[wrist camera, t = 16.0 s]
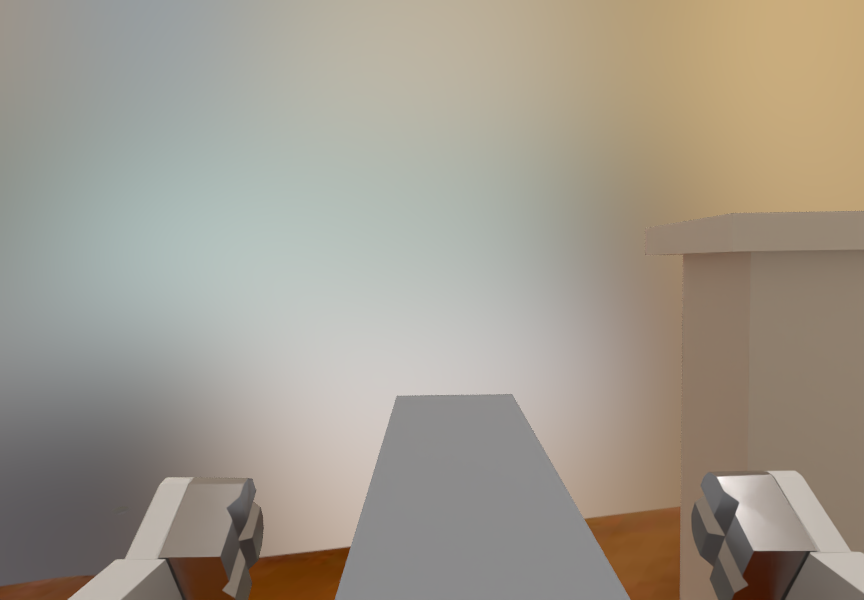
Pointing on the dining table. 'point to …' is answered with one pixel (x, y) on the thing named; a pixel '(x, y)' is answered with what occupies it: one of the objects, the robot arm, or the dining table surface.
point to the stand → (771, 360)
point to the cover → (470, 512)
